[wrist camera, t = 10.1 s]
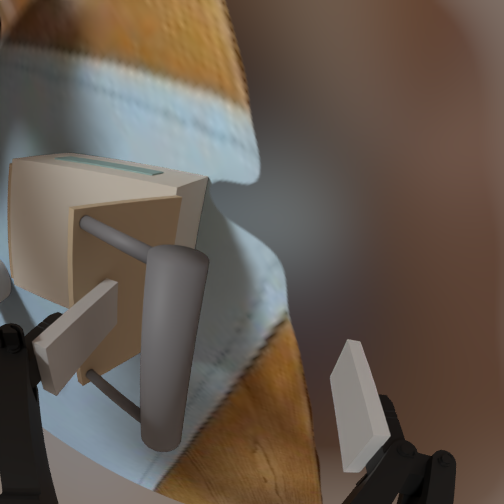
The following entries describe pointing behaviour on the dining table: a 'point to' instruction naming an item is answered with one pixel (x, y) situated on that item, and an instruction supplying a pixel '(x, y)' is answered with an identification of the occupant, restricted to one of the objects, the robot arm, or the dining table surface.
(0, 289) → the coffee cup
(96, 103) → the dining table surface
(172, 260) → the drawer with bar handle
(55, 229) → the carton
